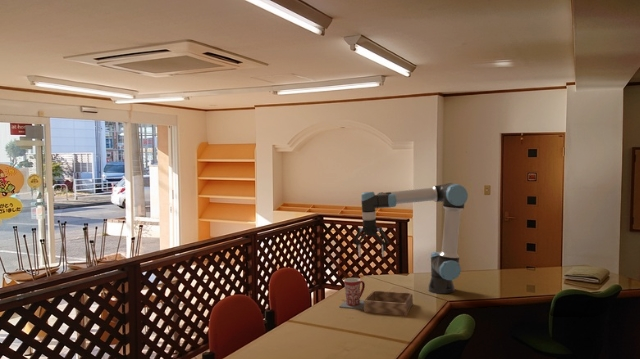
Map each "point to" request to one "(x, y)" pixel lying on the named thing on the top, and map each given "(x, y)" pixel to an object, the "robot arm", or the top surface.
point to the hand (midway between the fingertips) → (371, 256)
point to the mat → (360, 306)
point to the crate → (388, 302)
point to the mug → (353, 291)
